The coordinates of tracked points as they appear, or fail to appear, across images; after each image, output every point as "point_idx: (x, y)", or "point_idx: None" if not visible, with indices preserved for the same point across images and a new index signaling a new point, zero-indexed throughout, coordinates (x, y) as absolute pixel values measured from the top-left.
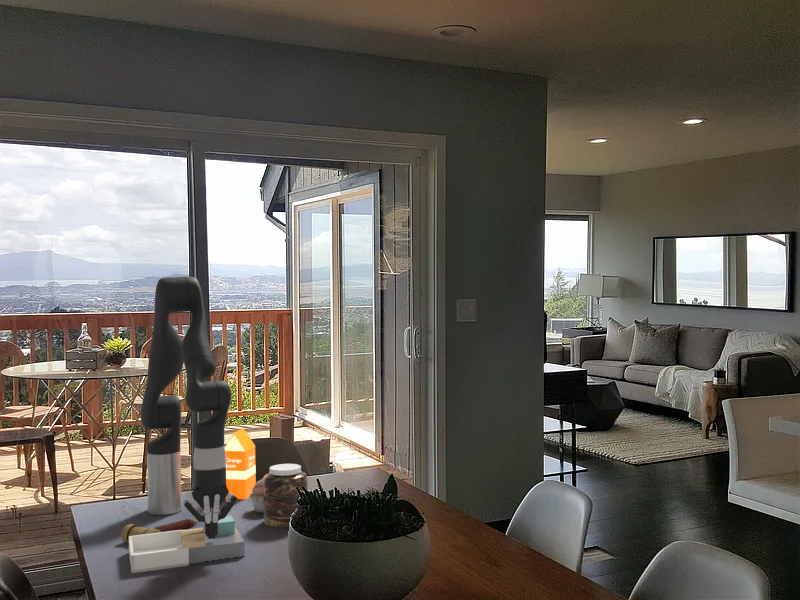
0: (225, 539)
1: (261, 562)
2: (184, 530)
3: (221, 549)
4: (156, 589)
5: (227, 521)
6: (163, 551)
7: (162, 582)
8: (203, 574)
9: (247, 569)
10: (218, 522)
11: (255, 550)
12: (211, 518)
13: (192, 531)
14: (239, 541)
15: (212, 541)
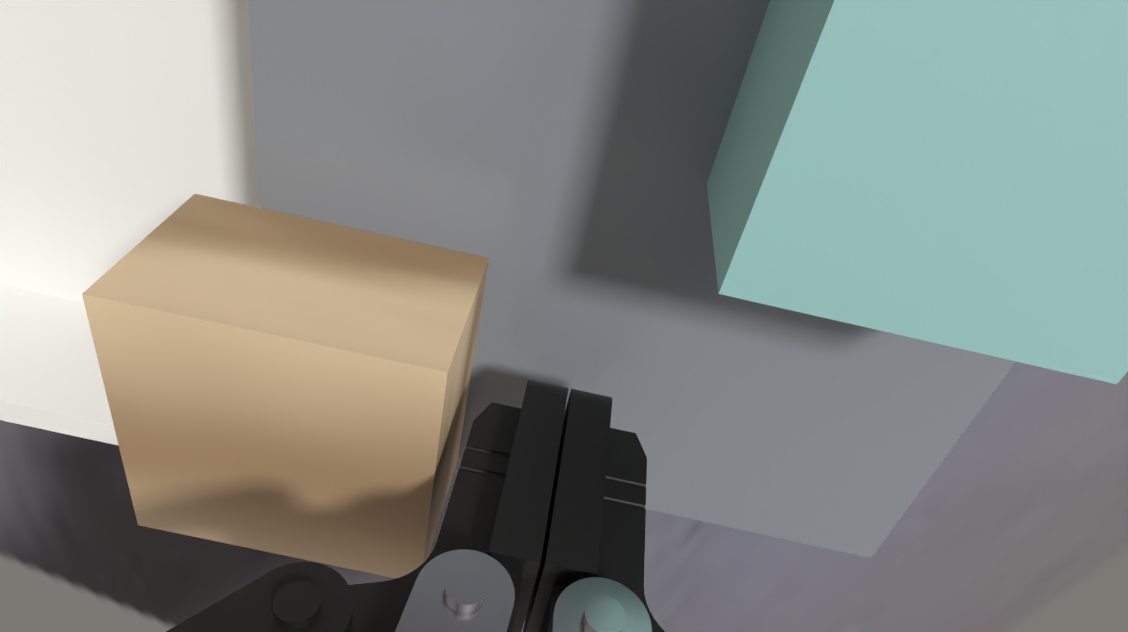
0: (750, 402)
1: (856, 588)
2: (147, 337)
3: None
4: (103, 564)
5: (999, 329)
6: (2, 418)
7: (130, 507)
8: None
9: (699, 620)
10: (825, 281)
11: (1035, 370)
12: (547, 627)
13: (269, 444)
14: (836, 529)
15: (585, 372)
